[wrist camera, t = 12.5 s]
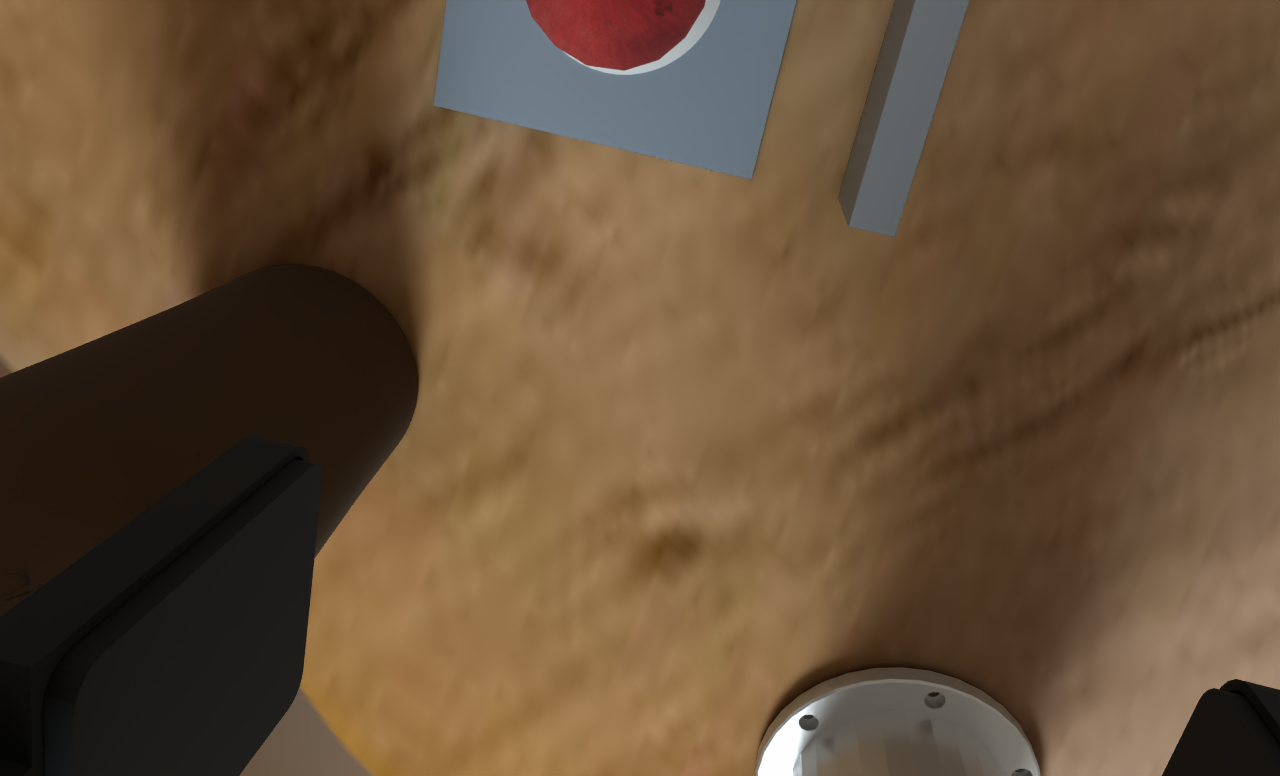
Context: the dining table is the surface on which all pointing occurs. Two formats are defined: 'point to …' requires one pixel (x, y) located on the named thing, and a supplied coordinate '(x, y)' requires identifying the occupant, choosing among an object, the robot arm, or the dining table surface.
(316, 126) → the dining table surface
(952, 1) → the low wall
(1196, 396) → the dining table surface
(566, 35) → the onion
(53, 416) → the olive oil
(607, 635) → the dining table surface
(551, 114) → the mat
